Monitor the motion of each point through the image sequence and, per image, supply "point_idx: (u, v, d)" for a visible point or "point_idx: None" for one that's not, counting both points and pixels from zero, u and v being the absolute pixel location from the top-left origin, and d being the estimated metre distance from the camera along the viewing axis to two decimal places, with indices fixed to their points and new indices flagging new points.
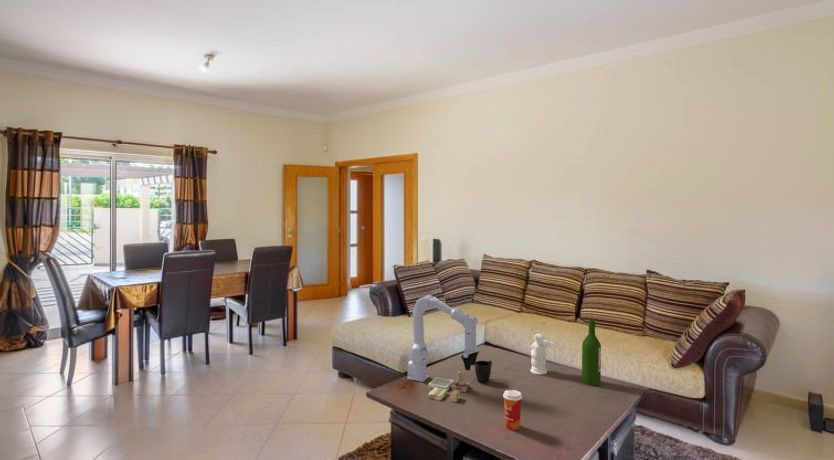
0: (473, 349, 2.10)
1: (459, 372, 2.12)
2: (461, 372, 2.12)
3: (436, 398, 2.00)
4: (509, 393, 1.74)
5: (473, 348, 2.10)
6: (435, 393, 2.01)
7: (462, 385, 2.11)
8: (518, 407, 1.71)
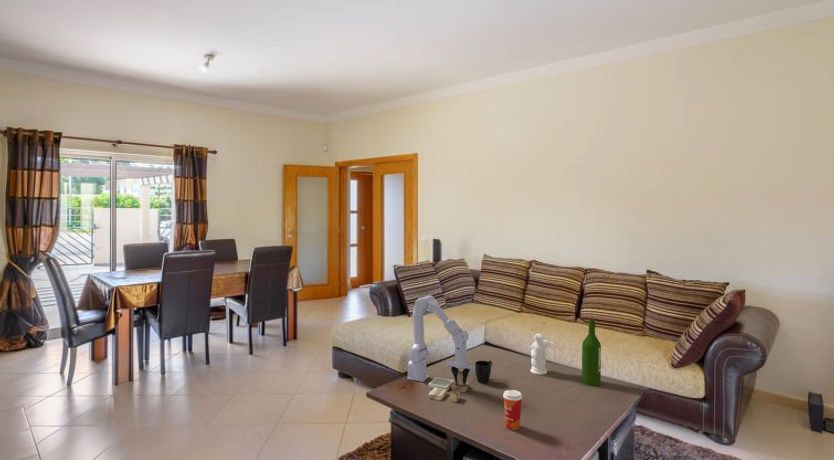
0: (455, 363, 2.11)
1: (459, 372, 2.12)
2: (461, 372, 2.12)
3: (436, 398, 2.00)
4: (509, 393, 1.74)
5: (455, 362, 2.11)
6: (435, 393, 2.01)
7: (462, 385, 2.11)
8: (518, 407, 1.71)
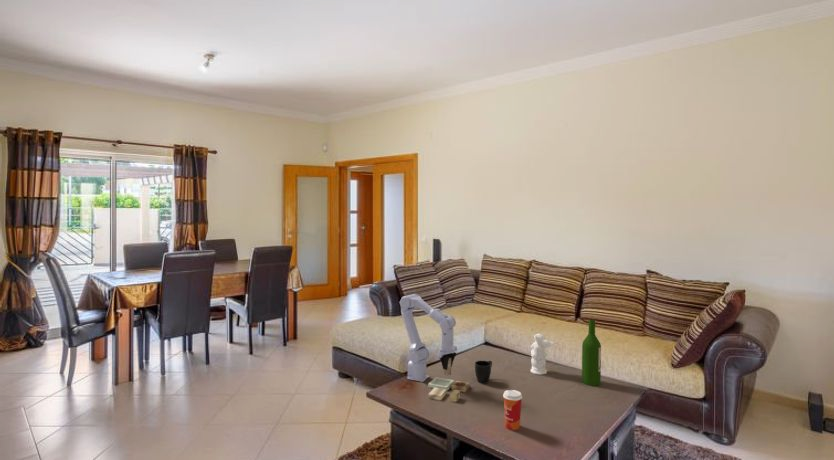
0: (449, 350, 2.11)
1: None
2: None
3: (436, 398, 2.00)
4: (509, 393, 1.74)
5: (449, 349, 2.11)
6: (435, 393, 2.01)
7: None
8: (518, 407, 1.71)
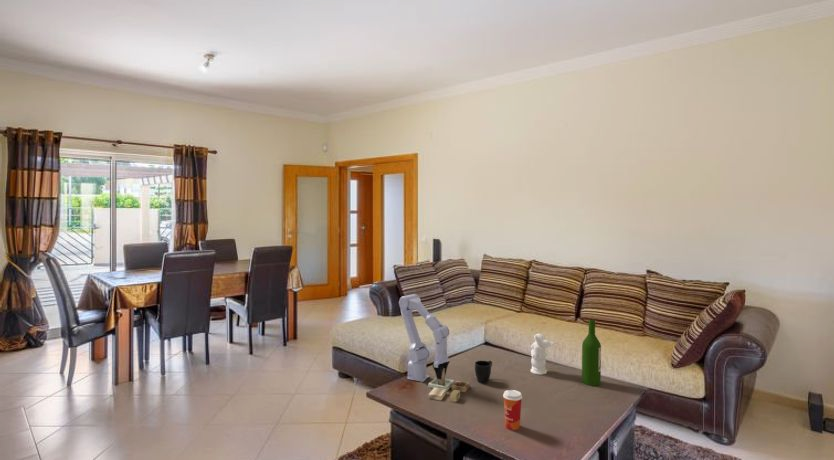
0: (444, 359, 2.13)
1: None
2: None
3: (437, 398, 2.00)
4: (509, 393, 1.74)
5: (444, 358, 2.13)
6: (435, 393, 2.01)
7: None
8: (518, 407, 1.71)
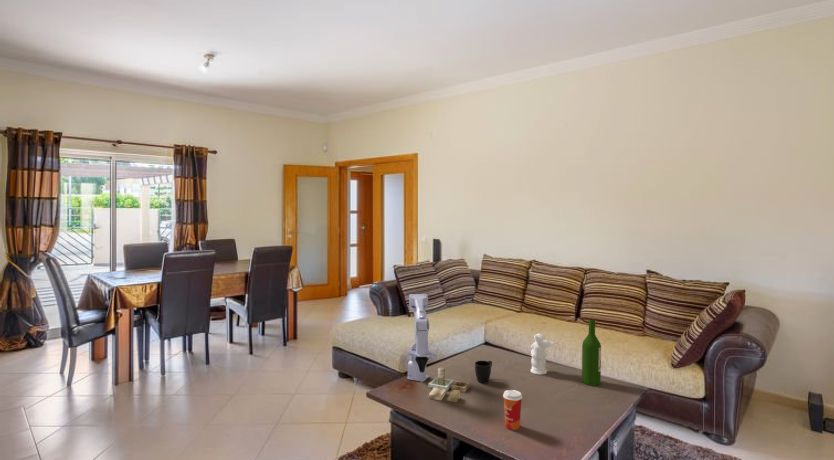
0: (416, 352, 2.05)
1: (441, 369, 2.15)
2: (441, 368, 2.16)
3: (437, 398, 2.00)
4: (509, 393, 1.74)
5: (416, 351, 2.05)
6: (435, 393, 2.01)
7: None
8: (518, 407, 1.71)
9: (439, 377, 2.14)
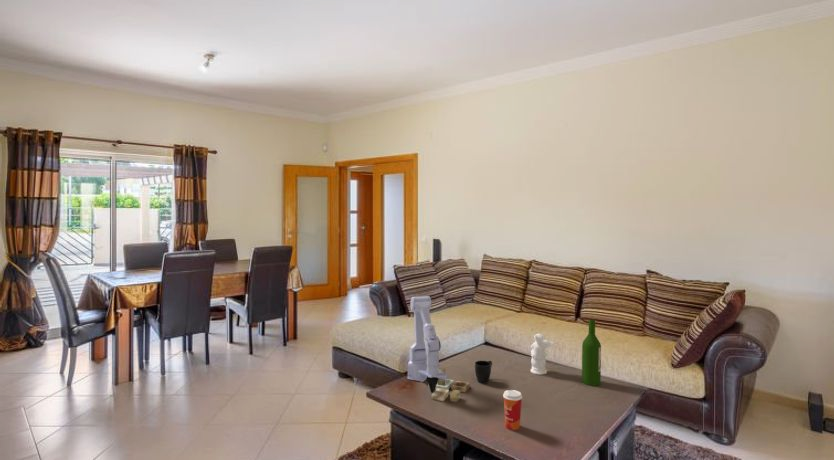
0: (427, 372, 2.03)
1: (441, 369, 2.15)
2: (441, 368, 2.16)
3: (440, 399, 1.99)
4: (509, 393, 1.74)
5: (427, 371, 2.03)
6: (438, 394, 2.01)
7: None
8: (518, 407, 1.71)
9: None
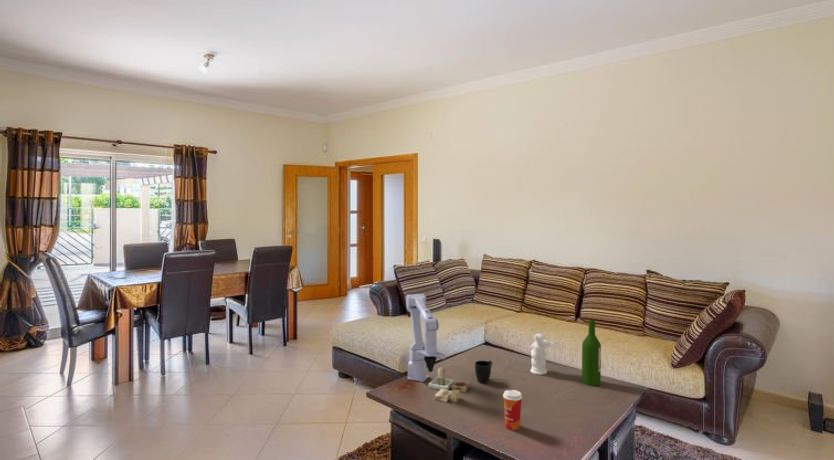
0: (425, 351, 2.06)
1: (441, 369, 2.15)
2: (440, 368, 2.16)
3: (442, 400, 1.98)
4: (509, 393, 1.74)
5: (425, 350, 2.06)
6: (441, 395, 2.00)
7: None
8: (518, 407, 1.71)
9: (439, 377, 2.14)
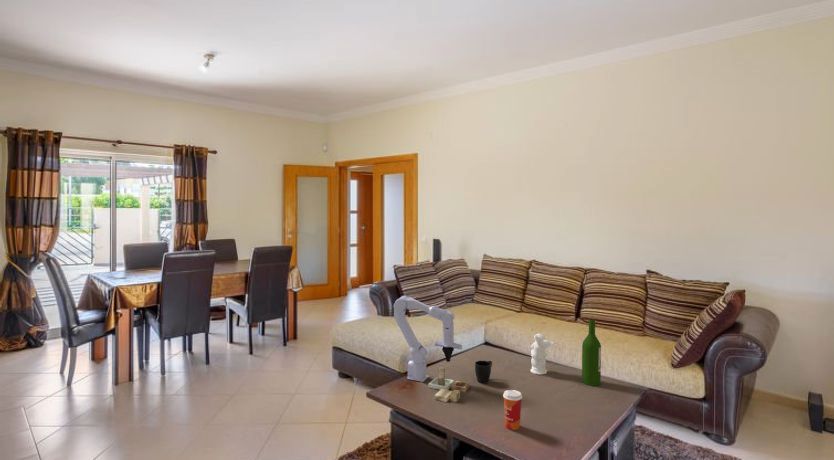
0: (443, 343, 2.20)
1: (441, 369, 2.15)
2: (441, 368, 2.16)
3: (442, 400, 1.98)
4: (509, 393, 1.74)
5: (443, 342, 2.20)
6: (441, 395, 2.00)
7: None
8: (518, 407, 1.71)
9: (439, 377, 2.14)
